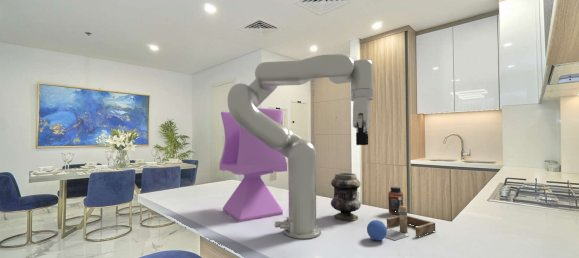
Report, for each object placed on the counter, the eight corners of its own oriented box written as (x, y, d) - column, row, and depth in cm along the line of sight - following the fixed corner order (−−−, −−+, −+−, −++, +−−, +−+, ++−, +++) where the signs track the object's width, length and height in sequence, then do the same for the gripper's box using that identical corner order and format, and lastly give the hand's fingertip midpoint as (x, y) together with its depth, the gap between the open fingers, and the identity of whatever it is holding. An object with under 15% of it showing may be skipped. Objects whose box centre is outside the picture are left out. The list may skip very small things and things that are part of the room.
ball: (373, 244, 78) (373, 224, 78) (363, 237, 84) (363, 218, 84) (391, 242, 79) (390, 222, 79) (380, 235, 85) (379, 217, 85)
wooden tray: (418, 237, 83) (418, 228, 83) (386, 227, 93) (386, 218, 93) (435, 231, 89) (435, 222, 89) (403, 222, 99) (403, 214, 99)
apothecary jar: (367, 220, 102) (366, 174, 103) (341, 223, 98) (340, 175, 99) (349, 212, 113) (348, 171, 114) (325, 215, 109) (325, 172, 110)
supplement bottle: (405, 215, 108) (404, 188, 109) (390, 214, 109) (389, 188, 110) (401, 211, 114) (401, 186, 114) (387, 211, 115) (387, 185, 116)
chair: (219, 210, 116) (220, 112, 119) (263, 204, 128) (263, 114, 131) (237, 223, 98) (238, 106, 100) (287, 214, 110) (287, 110, 112)
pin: (402, 233, 87) (402, 207, 88) (398, 230, 90) (397, 205, 90) (409, 232, 88) (408, 207, 88) (404, 230, 90) (403, 205, 91)
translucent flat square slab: (394, 240, 80) (394, 240, 80) (376, 234, 86) (376, 233, 86) (409, 235, 85) (409, 235, 85) (391, 229, 91) (391, 229, 91)
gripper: (353, 100, 99) (354, 144, 98) (347, 92, 83) (348, 145, 82) (374, 99, 97) (374, 144, 96) (371, 90, 80) (372, 145, 79)
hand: (362, 144), depth 89 cm, fingers open, 9 cm apart
